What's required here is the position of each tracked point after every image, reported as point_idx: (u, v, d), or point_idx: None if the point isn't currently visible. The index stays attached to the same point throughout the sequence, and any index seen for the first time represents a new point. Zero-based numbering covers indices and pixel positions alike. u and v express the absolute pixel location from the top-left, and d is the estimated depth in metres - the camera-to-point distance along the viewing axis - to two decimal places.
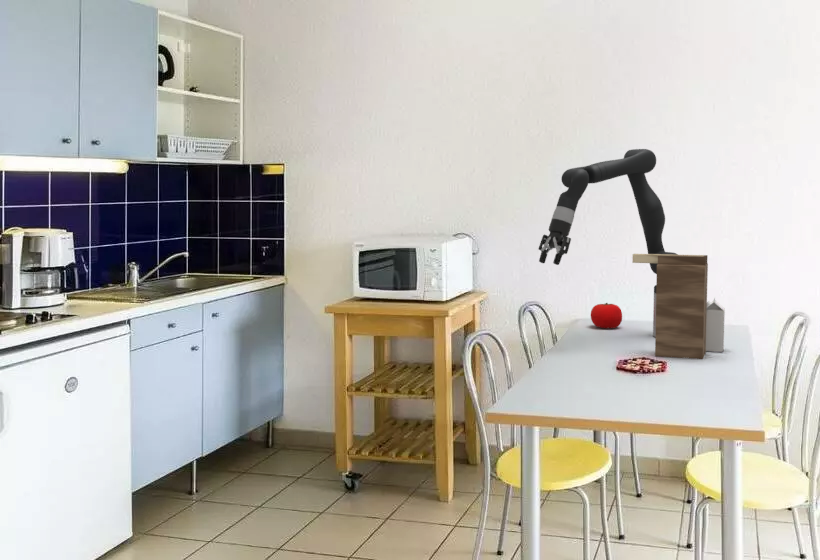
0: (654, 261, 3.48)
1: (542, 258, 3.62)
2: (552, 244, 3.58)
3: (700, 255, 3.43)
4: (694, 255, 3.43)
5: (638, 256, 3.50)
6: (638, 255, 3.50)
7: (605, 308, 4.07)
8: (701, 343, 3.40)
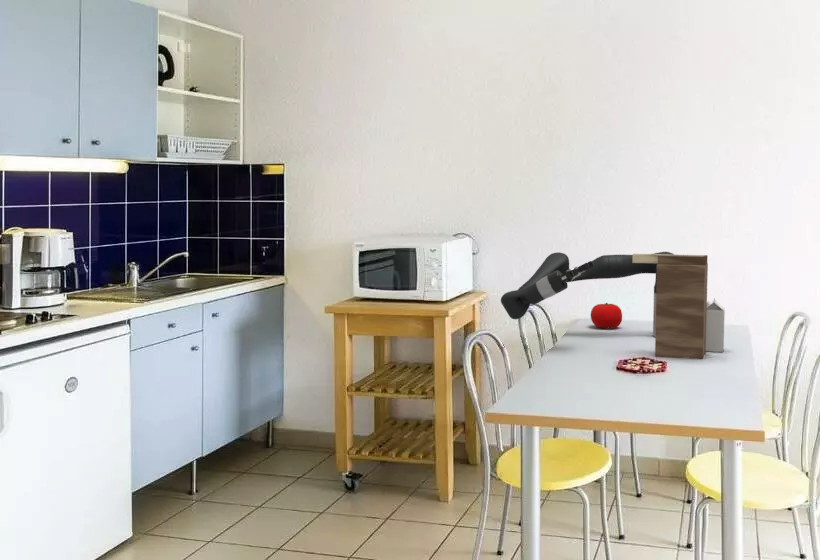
0: (654, 261, 3.48)
1: None
2: None
3: (700, 255, 3.43)
4: (694, 255, 3.43)
5: (638, 256, 3.50)
6: (638, 255, 3.50)
7: (605, 308, 4.07)
8: (701, 343, 3.40)
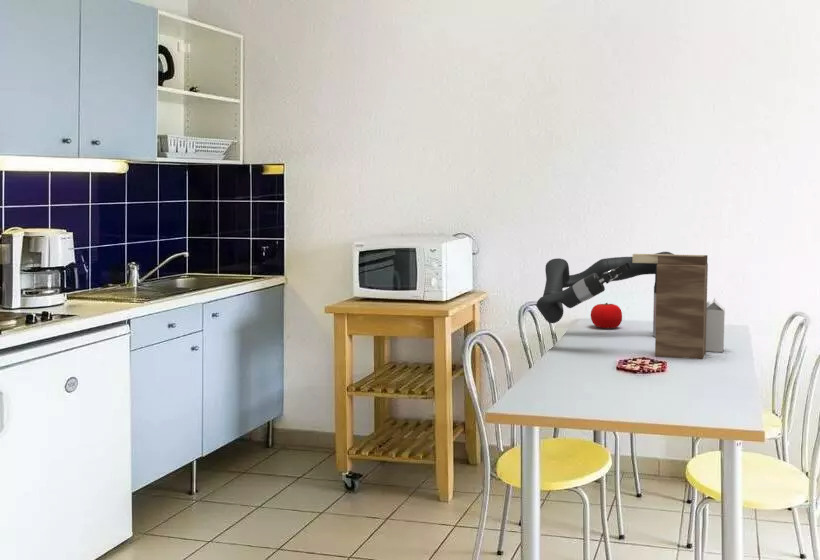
0: (654, 261, 3.48)
1: None
2: None
3: (700, 255, 3.43)
4: (694, 255, 3.43)
5: (638, 256, 3.50)
6: (638, 255, 3.50)
7: (605, 308, 4.07)
8: (701, 343, 3.40)
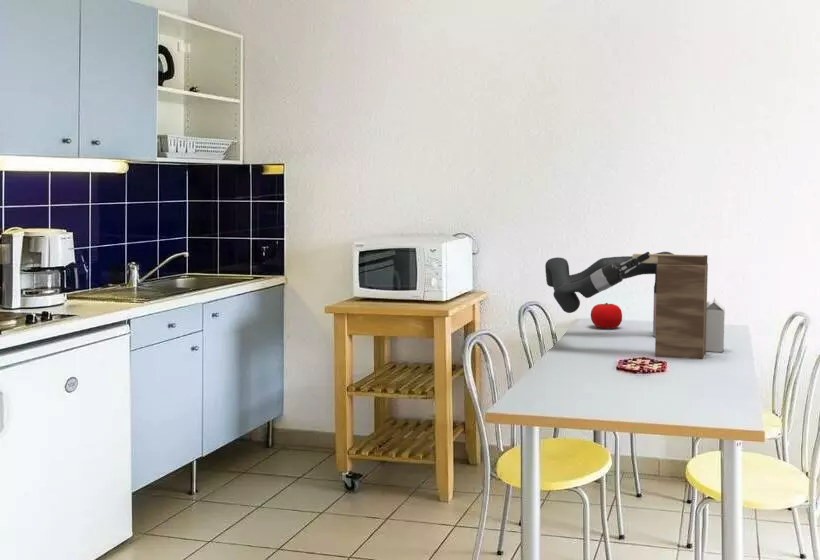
0: (654, 261, 3.48)
1: None
2: None
3: (700, 255, 3.43)
4: (694, 255, 3.43)
5: (638, 256, 3.50)
6: (638, 255, 3.50)
7: (605, 308, 4.07)
8: (701, 343, 3.40)
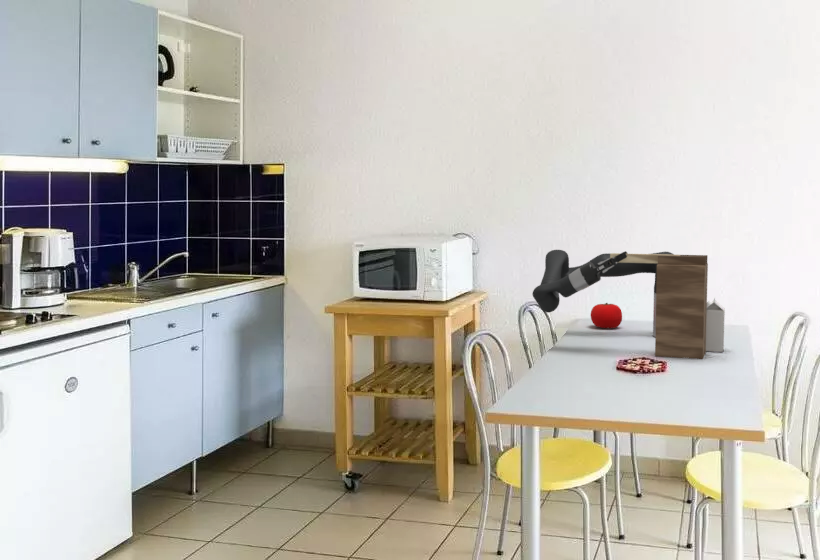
0: (631, 260, 3.51)
1: None
2: None
3: (677, 255, 3.46)
4: (671, 255, 3.46)
5: None
6: (615, 254, 3.52)
7: (605, 308, 4.07)
8: (701, 343, 3.40)
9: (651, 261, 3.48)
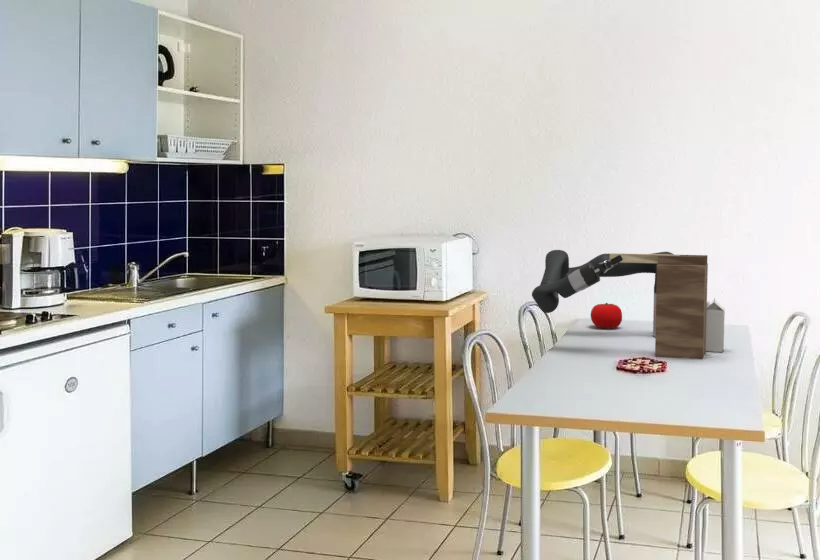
0: (631, 260, 3.51)
1: None
2: None
3: None
4: (670, 254, 3.46)
5: (615, 256, 3.52)
6: (615, 254, 3.52)
7: (605, 308, 4.07)
8: (701, 343, 3.40)
9: (651, 261, 3.48)
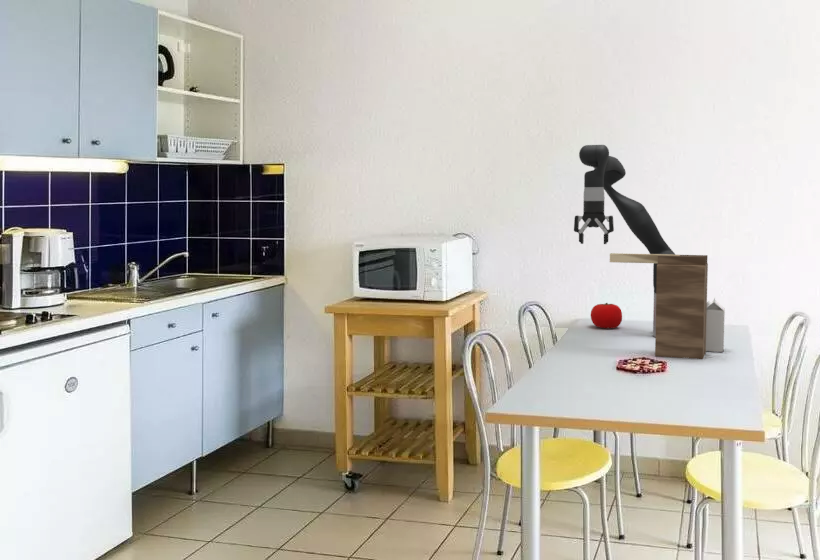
0: (631, 260, 3.51)
1: None
2: None
3: None
4: (670, 254, 3.46)
5: (615, 256, 3.52)
6: (615, 254, 3.52)
7: (605, 308, 4.07)
8: (701, 343, 3.40)
9: (651, 261, 3.48)
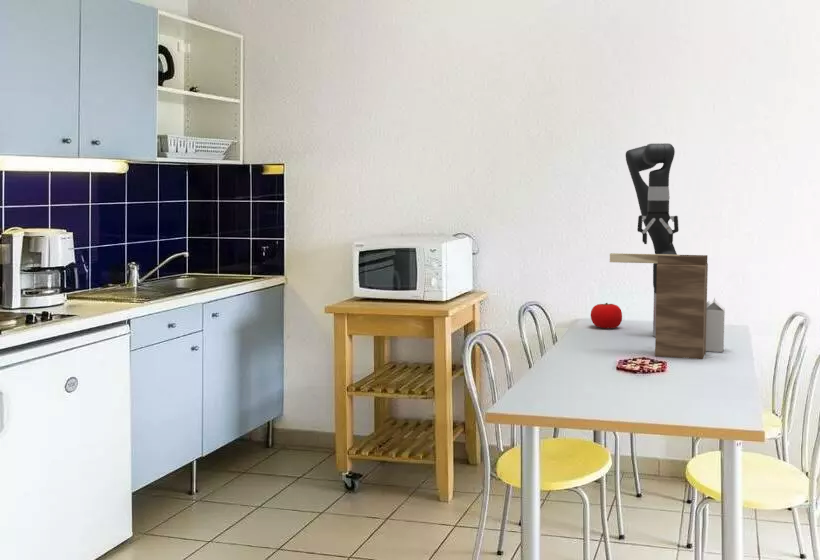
0: (631, 260, 3.51)
1: None
2: None
3: None
4: (670, 254, 3.46)
5: (615, 256, 3.52)
6: (615, 254, 3.52)
7: (605, 308, 4.07)
8: (701, 343, 3.40)
9: (651, 261, 3.48)
